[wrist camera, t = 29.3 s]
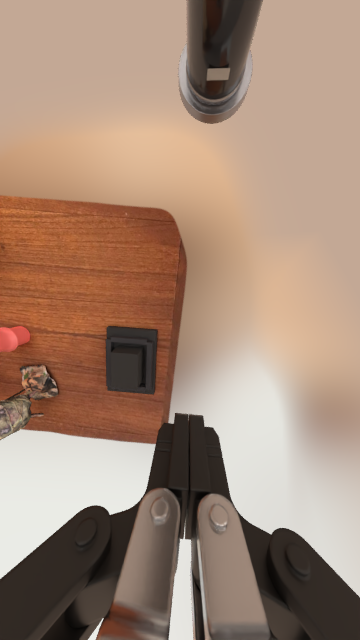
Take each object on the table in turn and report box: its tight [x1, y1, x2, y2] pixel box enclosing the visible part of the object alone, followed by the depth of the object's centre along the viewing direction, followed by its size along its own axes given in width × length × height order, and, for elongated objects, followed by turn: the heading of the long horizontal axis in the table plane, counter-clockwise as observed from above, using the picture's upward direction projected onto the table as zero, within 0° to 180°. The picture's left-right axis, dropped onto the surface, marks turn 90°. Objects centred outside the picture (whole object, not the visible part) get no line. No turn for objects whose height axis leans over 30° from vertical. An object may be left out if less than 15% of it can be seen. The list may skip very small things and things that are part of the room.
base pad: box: [106, 326, 157, 394], centre depth 36 cm, size 14×10×3 cm
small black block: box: [111, 345, 144, 390], centre depth 35 cm, size 7×5×4 cm
